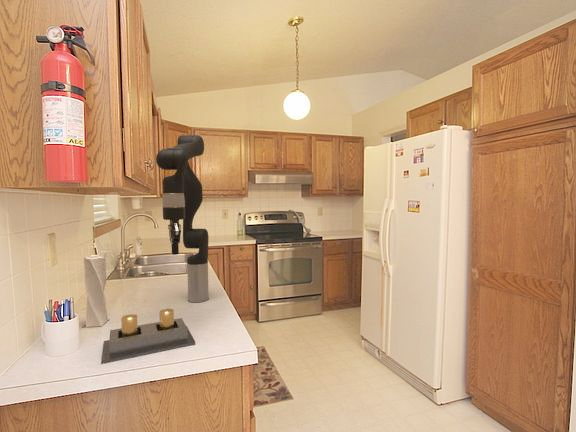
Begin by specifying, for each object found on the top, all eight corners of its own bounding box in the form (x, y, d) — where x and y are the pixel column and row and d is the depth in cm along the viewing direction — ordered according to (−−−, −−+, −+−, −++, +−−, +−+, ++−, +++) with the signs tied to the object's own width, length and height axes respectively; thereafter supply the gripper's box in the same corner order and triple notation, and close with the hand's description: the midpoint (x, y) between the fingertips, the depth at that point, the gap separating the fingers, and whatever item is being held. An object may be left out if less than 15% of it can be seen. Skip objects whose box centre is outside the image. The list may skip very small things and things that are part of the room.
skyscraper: (113, 320, 125) (111, 249, 124) (104, 328, 117) (102, 252, 116) (90, 321, 124) (87, 249, 123) (79, 329, 116) (76, 253, 115)
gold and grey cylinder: (159, 336, 107) (158, 310, 106) (173, 334, 109) (172, 307, 108) (161, 341, 103) (160, 314, 102) (175, 339, 105) (174, 311, 104)
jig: (103, 343, 104) (102, 313, 103) (186, 328, 116) (186, 301, 115) (101, 363, 91) (100, 329, 90) (195, 344, 102) (194, 314, 102)
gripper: (160, 206, 119) (162, 252, 120) (164, 206, 107) (166, 258, 108) (181, 205, 122) (182, 250, 123) (188, 206, 110) (189, 256, 111)
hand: (175, 254), depth 115 cm, fingers closed
